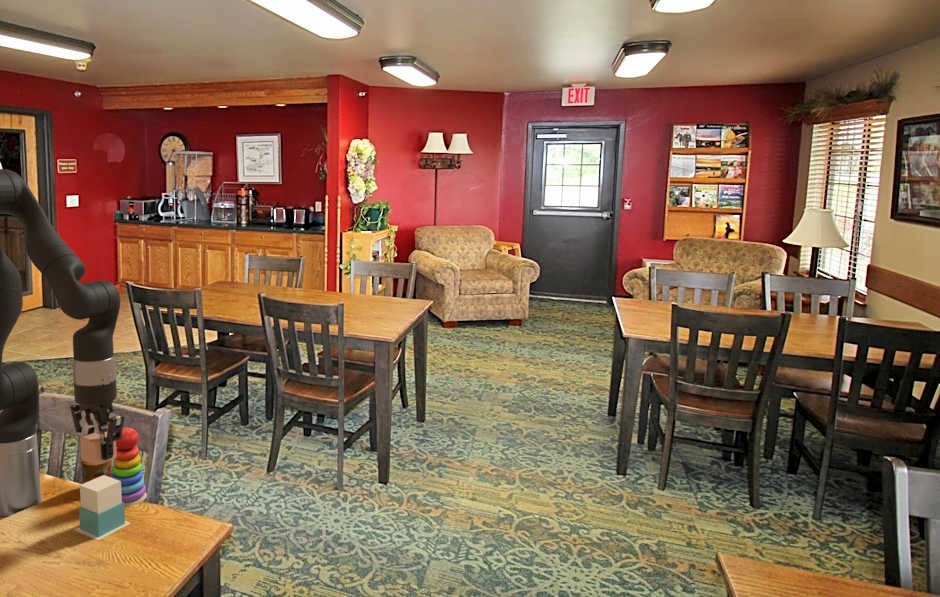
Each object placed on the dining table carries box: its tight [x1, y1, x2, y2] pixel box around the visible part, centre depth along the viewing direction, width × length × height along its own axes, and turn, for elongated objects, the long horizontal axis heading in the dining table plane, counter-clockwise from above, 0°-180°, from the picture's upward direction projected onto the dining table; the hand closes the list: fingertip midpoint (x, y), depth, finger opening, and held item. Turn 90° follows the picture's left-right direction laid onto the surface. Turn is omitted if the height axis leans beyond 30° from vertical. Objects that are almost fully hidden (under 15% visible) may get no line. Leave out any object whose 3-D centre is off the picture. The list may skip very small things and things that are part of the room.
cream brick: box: [79, 475, 122, 514], centre depth 134 cm, size 5×5×5 cm
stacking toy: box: [111, 427, 148, 508], centre depth 146 cm, size 8×8×19 cm
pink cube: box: [79, 431, 117, 465], centre depth 132 cm, size 5×5×5 cm
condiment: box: [81, 459, 113, 484], centre depth 149 cm, size 7×8×12 cm
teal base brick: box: [78, 502, 126, 537], centre depth 135 cm, size 6×6×5 cm
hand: (99, 455), depth 133 cm, fingers closed on pink cube, 4 cm apart
